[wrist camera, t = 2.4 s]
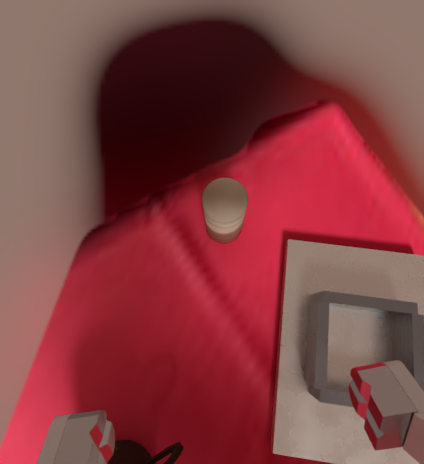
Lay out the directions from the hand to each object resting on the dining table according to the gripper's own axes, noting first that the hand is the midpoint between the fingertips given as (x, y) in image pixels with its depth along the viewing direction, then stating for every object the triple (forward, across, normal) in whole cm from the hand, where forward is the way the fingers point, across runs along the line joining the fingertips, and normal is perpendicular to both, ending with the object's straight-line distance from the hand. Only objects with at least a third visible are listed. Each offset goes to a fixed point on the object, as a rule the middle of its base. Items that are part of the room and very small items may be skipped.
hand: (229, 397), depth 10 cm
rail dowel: (+25, -2, +7) cm, 26 cm away
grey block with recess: (+14, -12, +18) cm, 26 cm away
